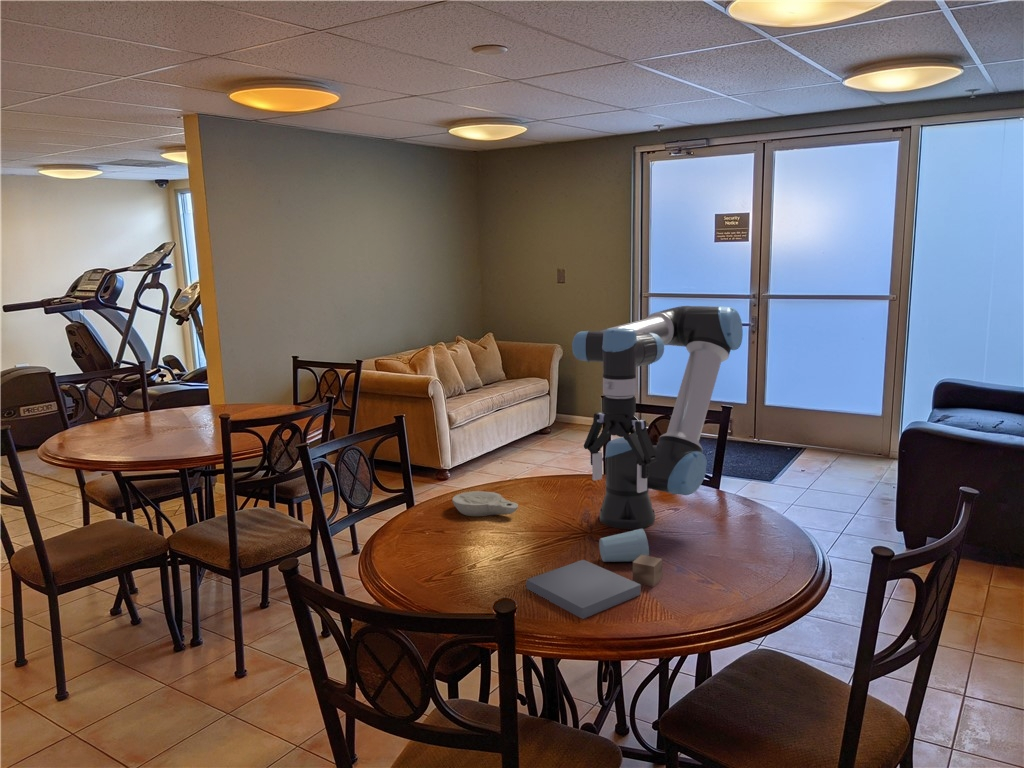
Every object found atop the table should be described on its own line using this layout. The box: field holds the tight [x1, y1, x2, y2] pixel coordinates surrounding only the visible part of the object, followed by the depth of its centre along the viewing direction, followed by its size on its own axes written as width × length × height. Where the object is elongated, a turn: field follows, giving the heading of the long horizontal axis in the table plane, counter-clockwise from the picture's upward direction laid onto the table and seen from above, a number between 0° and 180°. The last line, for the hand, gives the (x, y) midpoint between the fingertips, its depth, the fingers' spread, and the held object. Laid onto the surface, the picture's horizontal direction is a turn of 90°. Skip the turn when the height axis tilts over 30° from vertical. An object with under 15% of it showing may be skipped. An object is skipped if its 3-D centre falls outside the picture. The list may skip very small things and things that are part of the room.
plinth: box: [525, 559, 642, 620], centre depth 160 cm, size 18×17×2 cm
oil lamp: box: [451, 490, 519, 517], centre depth 211 cm, size 21×14×5 cm
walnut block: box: [632, 555, 663, 588], centre depth 165 cm, size 5×5×5 cm
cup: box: [598, 528, 650, 563], centre depth 176 cm, size 8×8×10 cm
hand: (619, 485), depth 173 cm, fingers open, 13 cm apart
